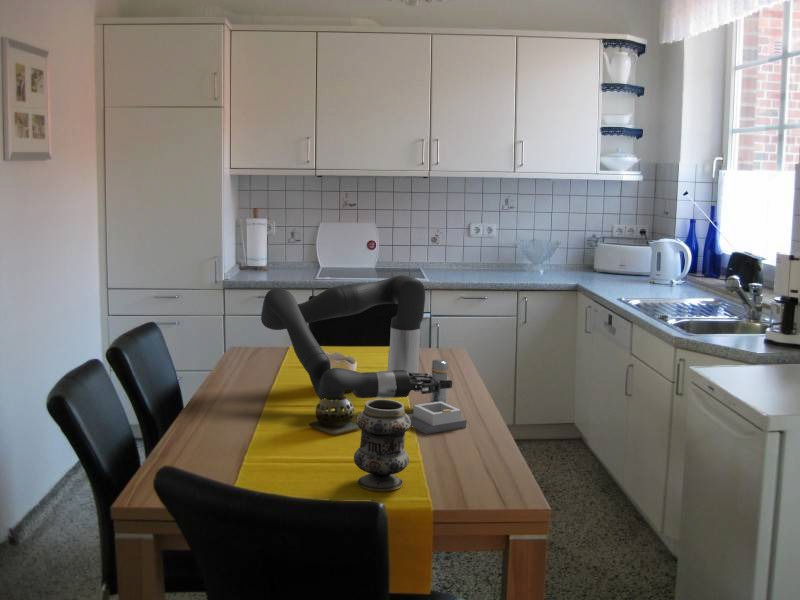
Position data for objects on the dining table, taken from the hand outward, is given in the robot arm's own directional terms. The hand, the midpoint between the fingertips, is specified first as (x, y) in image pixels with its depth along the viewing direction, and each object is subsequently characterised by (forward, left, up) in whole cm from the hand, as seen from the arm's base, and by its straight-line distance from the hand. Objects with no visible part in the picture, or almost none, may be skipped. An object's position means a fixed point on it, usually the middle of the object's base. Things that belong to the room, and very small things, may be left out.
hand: (448, 381), depth 249 cm
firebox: (+10, -12, -8) cm, 17 cm away
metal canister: (-1, -3, -8) cm, 8 cm away
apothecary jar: (+39, -47, -8) cm, 61 cm away
